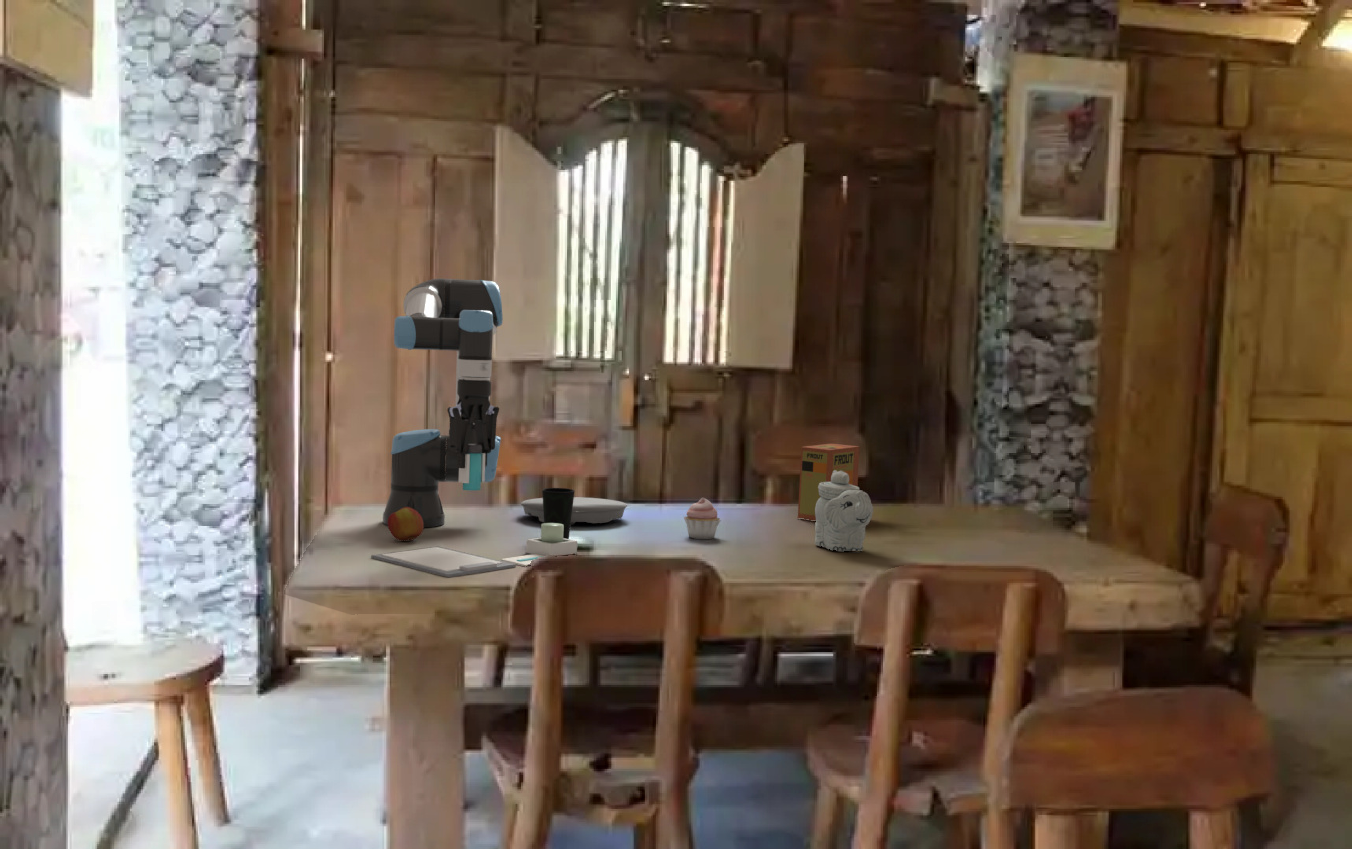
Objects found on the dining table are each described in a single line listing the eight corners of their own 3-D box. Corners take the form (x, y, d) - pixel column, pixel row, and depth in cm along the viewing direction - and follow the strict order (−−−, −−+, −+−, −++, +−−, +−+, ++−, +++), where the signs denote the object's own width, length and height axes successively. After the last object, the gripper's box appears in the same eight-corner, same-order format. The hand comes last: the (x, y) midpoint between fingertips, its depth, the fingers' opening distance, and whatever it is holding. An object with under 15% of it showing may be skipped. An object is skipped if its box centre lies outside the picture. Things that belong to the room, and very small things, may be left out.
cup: (567, 543, 312) (569, 493, 311) (536, 541, 313) (538, 490, 312) (576, 538, 319) (578, 489, 318) (546, 536, 321) (547, 487, 320)
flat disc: (647, 520, 353) (648, 504, 352) (585, 532, 329) (585, 514, 329) (563, 510, 368) (563, 494, 367) (497, 521, 344) (498, 503, 344)
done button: (536, 541, 298) (536, 524, 298) (552, 538, 302) (552, 522, 302) (551, 544, 295) (552, 527, 295) (567, 541, 299) (568, 525, 298)
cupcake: (674, 536, 328) (676, 496, 327) (699, 533, 335) (701, 493, 334) (702, 542, 322) (704, 501, 321) (727, 538, 329) (729, 498, 328)
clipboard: (371, 557, 285) (371, 551, 285) (438, 548, 299) (438, 543, 298) (448, 577, 268) (448, 570, 268) (515, 566, 281) (515, 560, 281)
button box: (526, 552, 298) (526, 539, 298) (552, 548, 304) (552, 535, 304) (550, 558, 293) (551, 544, 293) (576, 554, 299) (577, 540, 299)
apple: (409, 537, 312) (410, 503, 311) (429, 542, 306) (429, 508, 306) (381, 540, 307) (382, 505, 306) (400, 545, 301) (401, 510, 300)
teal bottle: (458, 489, 301) (459, 444, 300) (472, 487, 304) (473, 443, 303) (470, 490, 298) (471, 445, 298) (484, 489, 301) (485, 444, 301)
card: (500, 560, 288) (500, 558, 288) (535, 555, 295) (535, 553, 295) (525, 566, 282) (525, 563, 282) (560, 561, 290) (560, 558, 290)
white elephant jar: (867, 558, 309) (871, 478, 308) (803, 552, 314) (807, 473, 312) (878, 547, 325) (882, 470, 323) (817, 541, 329) (821, 466, 328)
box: (827, 513, 378) (831, 443, 377) (855, 517, 373) (859, 446, 372) (797, 519, 365) (801, 446, 363) (826, 523, 360) (830, 449, 358)
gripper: (456, 379, 291) (453, 486, 292) (513, 379, 303) (510, 481, 305) (434, 377, 295) (431, 482, 297) (492, 377, 308) (489, 478, 310)
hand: (471, 481), depth 301 cm, fingers closed on teal bottle, 4 cm apart
